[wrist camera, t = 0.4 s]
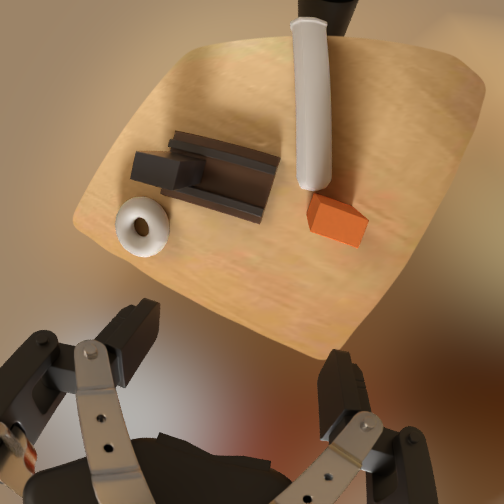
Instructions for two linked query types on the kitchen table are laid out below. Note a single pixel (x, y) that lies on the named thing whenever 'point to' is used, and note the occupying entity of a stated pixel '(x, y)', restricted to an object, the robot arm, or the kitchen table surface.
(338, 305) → the kitchen table surface
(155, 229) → the donut
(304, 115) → the tube
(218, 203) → the dark brown slotted holder
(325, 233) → the orange rectangular block
